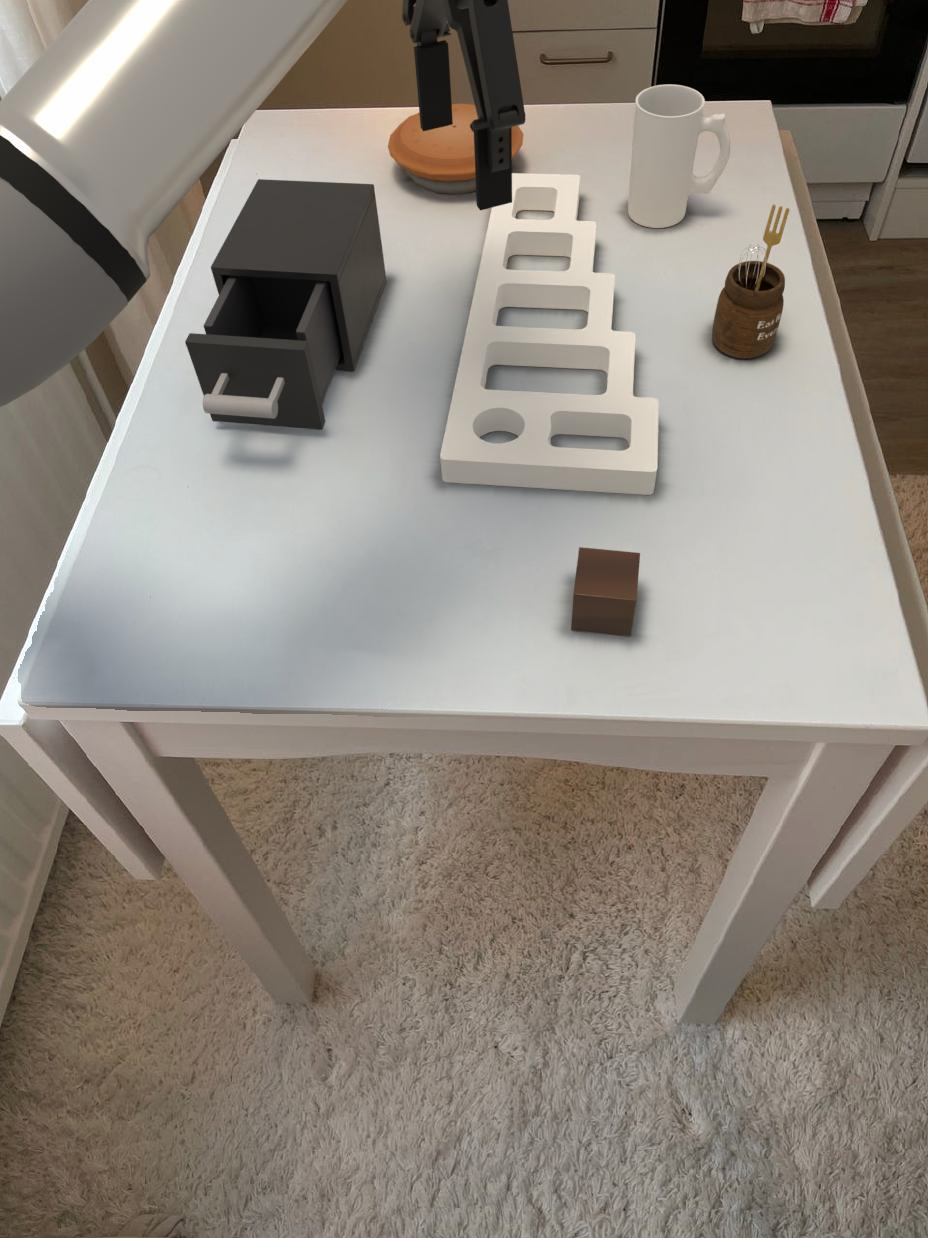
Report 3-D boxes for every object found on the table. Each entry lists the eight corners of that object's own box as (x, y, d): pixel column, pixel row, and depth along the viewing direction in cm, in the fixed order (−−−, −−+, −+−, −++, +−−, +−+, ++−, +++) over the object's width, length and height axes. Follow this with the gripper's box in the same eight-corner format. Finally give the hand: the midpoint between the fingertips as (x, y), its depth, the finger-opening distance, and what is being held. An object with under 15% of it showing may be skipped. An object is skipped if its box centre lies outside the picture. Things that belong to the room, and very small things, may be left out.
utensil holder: (700, 349, 90) (722, 234, 81) (725, 313, 94) (748, 197, 84) (760, 368, 89) (789, 252, 79) (783, 330, 92) (814, 213, 82)
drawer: (309, 465, 83) (289, 385, 76) (196, 455, 84) (166, 376, 77) (357, 335, 93) (343, 254, 86) (255, 328, 94) (233, 248, 87)
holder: (499, 195, 108) (499, 172, 106) (660, 199, 106) (663, 176, 104) (441, 481, 82) (439, 459, 80) (653, 495, 80) (657, 472, 78)
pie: (525, 134, 116) (526, 92, 112) (519, 205, 107) (519, 161, 103) (400, 135, 117) (395, 93, 113) (383, 205, 108) (378, 162, 104)
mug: (620, 226, 103) (631, 114, 94) (629, 193, 107) (640, 81, 97) (715, 235, 101) (735, 121, 92) (720, 201, 105) (740, 88, 96)
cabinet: (354, 371, 91) (336, 273, 83) (238, 363, 93) (210, 266, 84) (386, 280, 100) (373, 183, 91) (280, 274, 101) (258, 178, 93)
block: (630, 637, 71) (636, 600, 68) (570, 630, 72) (573, 594, 68) (634, 589, 74) (640, 552, 70) (576, 584, 75) (579, 546, 71)
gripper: (582, -108, 55) (568, 229, 72) (438, -215, 69) (454, 88, 86) (460, -84, 54) (475, 253, 71) (339, -198, 68) (376, 106, 85)
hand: (464, 163), depth 79 cm, fingers open, 13 cm apart
